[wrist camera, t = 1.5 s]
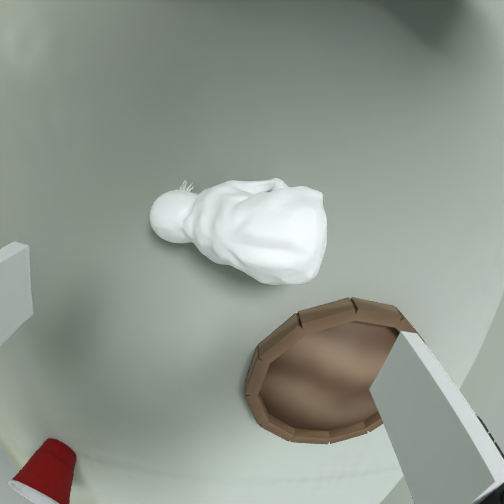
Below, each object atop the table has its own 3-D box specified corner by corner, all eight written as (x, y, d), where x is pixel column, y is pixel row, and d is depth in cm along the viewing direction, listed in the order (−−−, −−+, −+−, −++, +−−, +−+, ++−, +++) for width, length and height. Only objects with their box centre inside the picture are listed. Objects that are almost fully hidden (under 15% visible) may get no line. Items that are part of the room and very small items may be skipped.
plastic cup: (58, 464, 39) (37, 511, 28) (24, 425, 36) (-5, 474, 25) (102, 471, 39) (83, 525, 27) (66, 431, 35) (38, 490, 24)
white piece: (321, 310, 18) (121, 284, 18) (310, 258, 26) (166, 242, 26) (341, 199, 15) (117, 179, 16) (321, 180, 23) (168, 167, 24)
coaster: (277, 281, 26) (279, 292, 25) (445, 315, 28) (454, 325, 26) (231, 421, 32) (230, 434, 31) (372, 433, 34) (376, 444, 32)
